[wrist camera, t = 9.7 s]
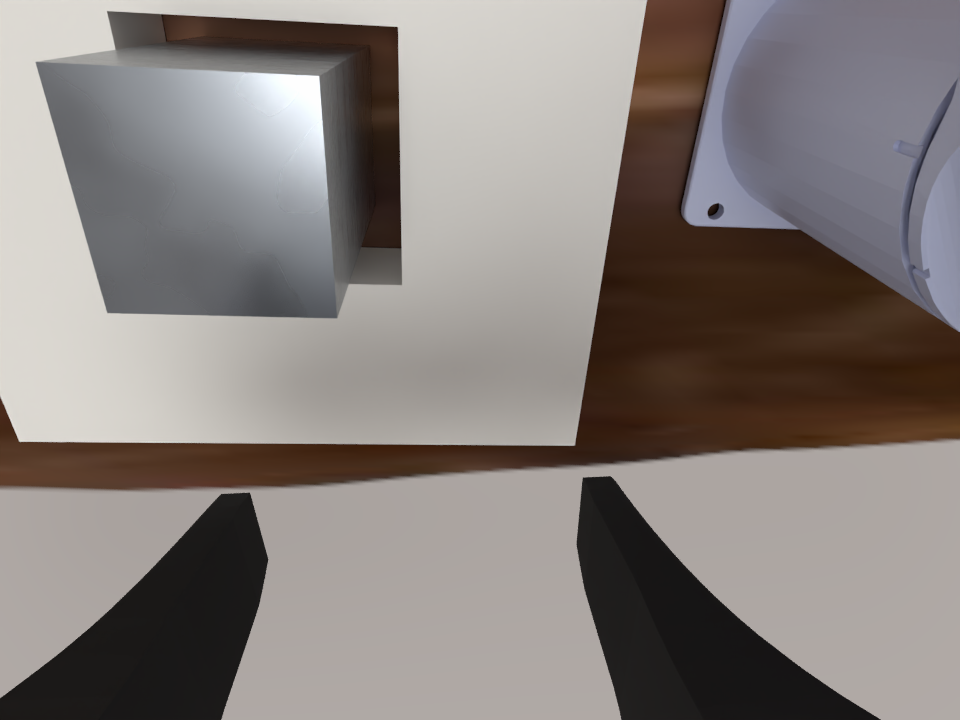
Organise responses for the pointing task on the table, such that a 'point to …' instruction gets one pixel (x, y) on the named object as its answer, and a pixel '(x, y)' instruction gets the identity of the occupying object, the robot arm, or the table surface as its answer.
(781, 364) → the table surface
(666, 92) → the table surface
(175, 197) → the square peg
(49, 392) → the hole board
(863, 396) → the table surface
